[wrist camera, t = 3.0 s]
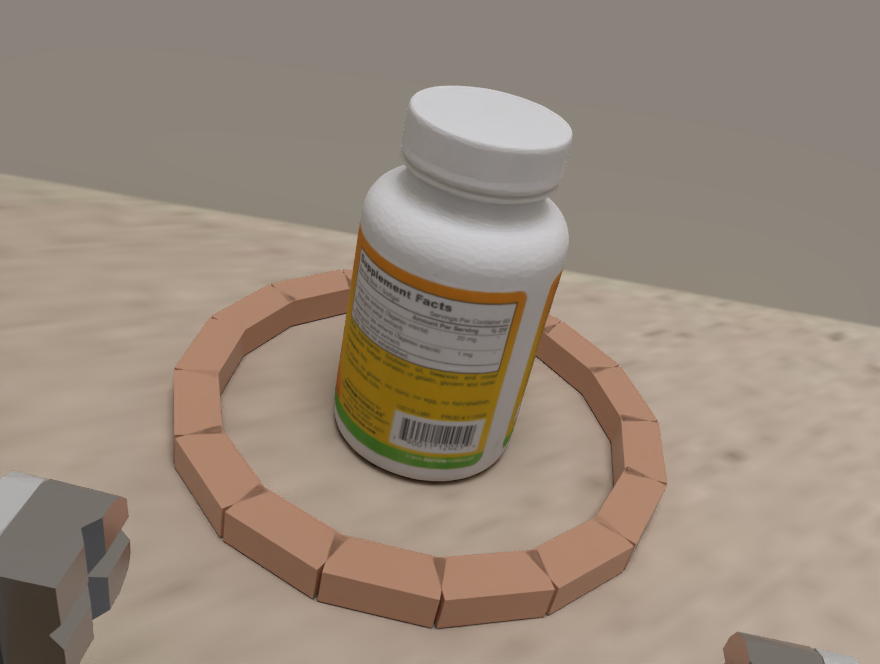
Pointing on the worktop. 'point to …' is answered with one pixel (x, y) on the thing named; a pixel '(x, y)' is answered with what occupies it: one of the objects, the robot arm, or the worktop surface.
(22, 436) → the worktop surface
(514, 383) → the supplement bottle
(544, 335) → the segmented terracotta ring
